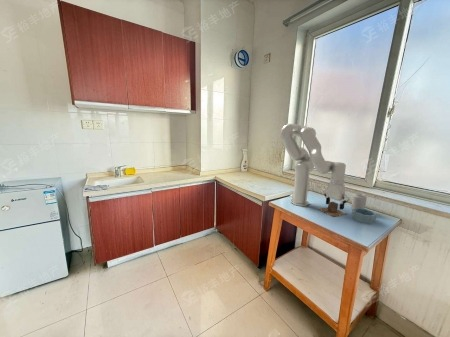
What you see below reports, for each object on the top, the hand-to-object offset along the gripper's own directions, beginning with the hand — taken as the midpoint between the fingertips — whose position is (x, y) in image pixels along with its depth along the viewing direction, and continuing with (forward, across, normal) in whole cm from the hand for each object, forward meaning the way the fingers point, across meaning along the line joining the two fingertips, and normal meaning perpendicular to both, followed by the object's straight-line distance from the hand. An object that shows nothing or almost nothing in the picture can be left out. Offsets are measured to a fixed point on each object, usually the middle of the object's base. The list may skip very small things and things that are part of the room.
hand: (334, 206), depth 125 cm
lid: (+5, -1, 0) cm, 5 cm away
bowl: (+5, +14, +8) cm, 17 cm away
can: (+5, +4, +18) cm, 19 cm away
